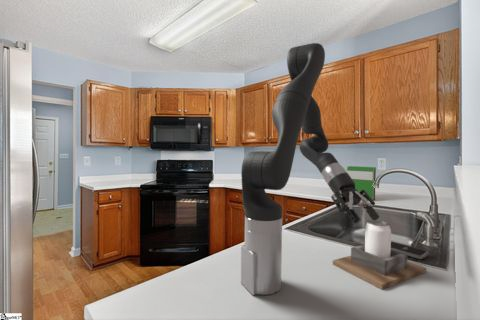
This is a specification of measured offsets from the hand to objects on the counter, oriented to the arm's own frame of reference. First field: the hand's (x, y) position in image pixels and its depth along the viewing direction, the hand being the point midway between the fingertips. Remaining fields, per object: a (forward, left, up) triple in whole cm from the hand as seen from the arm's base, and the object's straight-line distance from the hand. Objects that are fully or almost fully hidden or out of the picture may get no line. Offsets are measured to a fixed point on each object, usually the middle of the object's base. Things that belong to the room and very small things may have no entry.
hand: (367, 220), depth 73 cm
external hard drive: (+19, -1, -14) cm, 23 cm away
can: (0, -3, -12) cm, 12 cm away
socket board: (0, -4, -13) cm, 13 cm away
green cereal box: (+95, +72, -13) cm, 120 cm away
